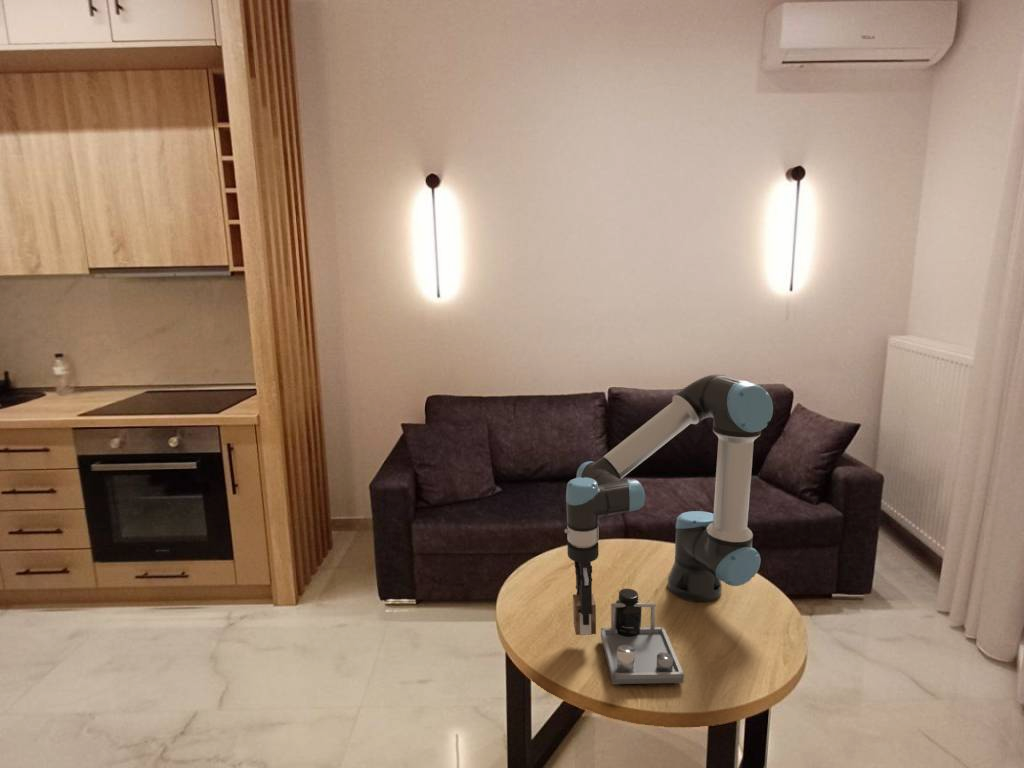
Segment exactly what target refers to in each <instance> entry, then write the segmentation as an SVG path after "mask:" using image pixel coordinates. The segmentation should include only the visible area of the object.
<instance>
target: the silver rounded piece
mask: <svg viewBox="0 0 1024 768" xmlns="http://www.w3.org/2000/svg"><path fill="white" fill-rule="evenodd" d="M634 665H635V650H634V648H633V647H631V646H628V645H621V646H619V647H618V648H617V671H618V672H619V673H634Z"/></svg>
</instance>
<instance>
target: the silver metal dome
mask: <svg viewBox="0 0 1024 768" xmlns="http://www.w3.org/2000/svg"><path fill="white" fill-rule="evenodd" d="M656 668H657V671H658V672H672V671H673V657H672V656H671V655H670V654H668V653H659V654H658V655H657V667H656Z"/></svg>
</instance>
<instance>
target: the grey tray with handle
mask: <svg viewBox="0 0 1024 768" xmlns="http://www.w3.org/2000/svg"><path fill="white" fill-rule="evenodd" d="M625 606H626V605H625V604H623V603H616V602H614V603H610V607H611V609H610V610H611V611H610V613H611V615H610V617H611V618H610V627H608V628H606V627H605V628H603V627H601V628H600V638H601V642H602V646H603V647H602V648H603V650H604V651H603V652H604V655H605V658H606V663H607V666H608V671H609V674H610V675H609V676H610V679H611V682H612V685H618V686H623V685H628V684H629V685H632V684H633V685H635V684H637V685H638V684H639V685H640V684H641V685H642V684H671V685H676V684H684V675H685V674H684V672H683V669H682V667H681V665H680V662H679V660H678V658H677V655H676V653H675V650H674V648H673V645H672V643H671V640H670V638H669V636H668V634H667V632H666V629H665V627H664V626H659V627H658V626H656V625H655V623H656V622H655V621H656V602H639V603H636V604H635V605H634V606H635V607H642V608H650V627H649V626H648V627H645V626H644V627H641V628H640V633H639V634H638V635H636V636H633V637H625V636H621V635H619V634H617V629H616V628H615V607H625ZM655 626H656V627H655ZM621 645H628V646H631V647H633V648H634V650H635V665H634V673H619V672H618V671H617V648H618V647H619V646H621ZM659 653H668V654H670V655H671V656H672V657H673V671H672V672H658V671H657V668H656V667H657V655H658V654H659Z"/></svg>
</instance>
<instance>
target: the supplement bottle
mask: <svg viewBox="0 0 1024 768" xmlns="http://www.w3.org/2000/svg"><path fill="white" fill-rule="evenodd" d="M615 603H623V604H625V605H626V606H625V607H615V628H616V629H617V634H619V635H621V636H625V637H633V636H636V635H638V634H639V633H640V628H642V611H643V609H642V608H643V607H635V606H634V605H635V604H636V603H640V602H639V592H638V591H636V590H634V589H633V588H622V589H620V590H619V591H618V599H617V600H616V601H615Z"/></svg>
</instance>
